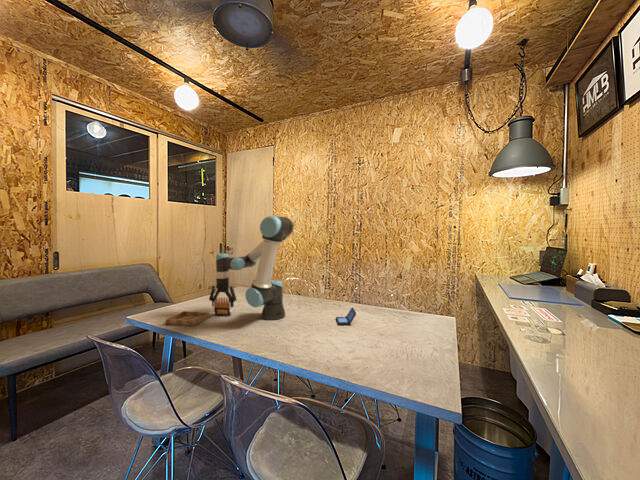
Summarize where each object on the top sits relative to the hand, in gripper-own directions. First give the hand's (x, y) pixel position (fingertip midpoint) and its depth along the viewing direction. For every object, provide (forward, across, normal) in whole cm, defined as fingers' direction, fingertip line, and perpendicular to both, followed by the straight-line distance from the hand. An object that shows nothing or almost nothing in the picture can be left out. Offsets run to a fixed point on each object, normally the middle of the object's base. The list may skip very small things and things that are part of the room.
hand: (222, 311), depth 167 cm
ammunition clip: (+3, 0, 0) cm, 3 cm away
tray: (+2, +15, +13) cm, 20 cm away
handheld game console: (+3, -79, 0) cm, 79 cm away
